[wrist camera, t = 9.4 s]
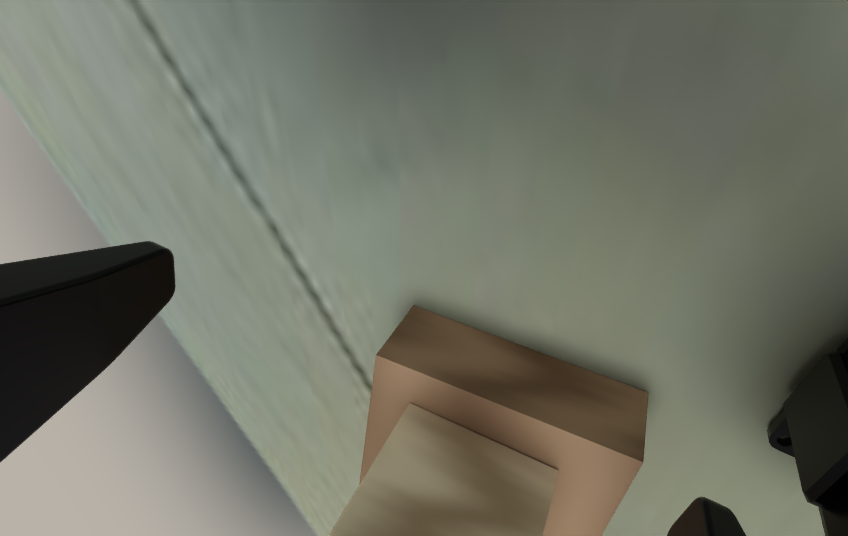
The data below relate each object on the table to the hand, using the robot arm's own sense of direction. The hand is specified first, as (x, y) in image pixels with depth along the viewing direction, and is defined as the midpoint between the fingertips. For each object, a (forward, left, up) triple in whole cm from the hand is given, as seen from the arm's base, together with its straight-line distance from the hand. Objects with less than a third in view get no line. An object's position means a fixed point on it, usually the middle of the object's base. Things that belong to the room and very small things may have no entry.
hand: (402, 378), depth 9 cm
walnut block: (-2, +13, -12) cm, 18 cm away
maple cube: (-2, +13, -8) cm, 15 cm away
